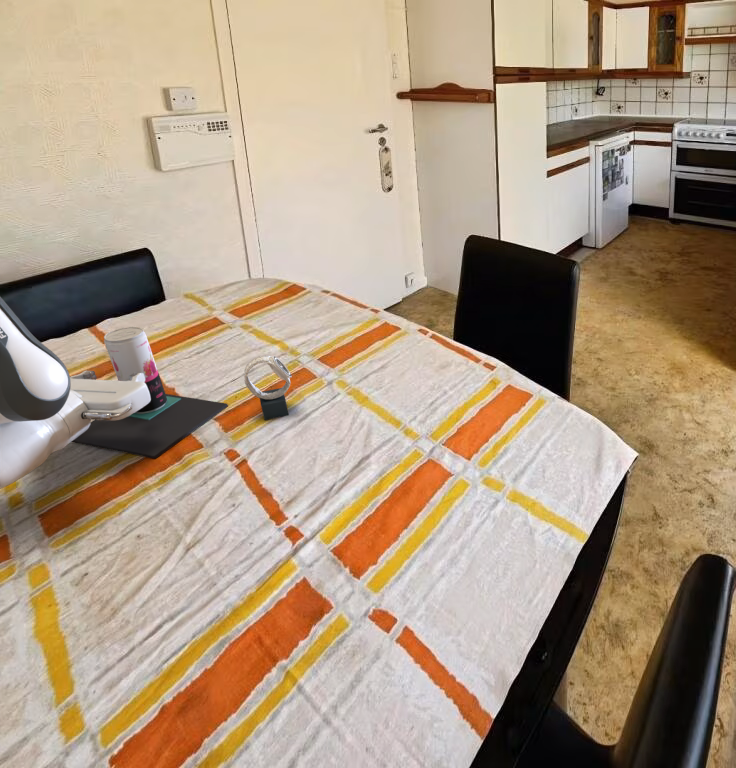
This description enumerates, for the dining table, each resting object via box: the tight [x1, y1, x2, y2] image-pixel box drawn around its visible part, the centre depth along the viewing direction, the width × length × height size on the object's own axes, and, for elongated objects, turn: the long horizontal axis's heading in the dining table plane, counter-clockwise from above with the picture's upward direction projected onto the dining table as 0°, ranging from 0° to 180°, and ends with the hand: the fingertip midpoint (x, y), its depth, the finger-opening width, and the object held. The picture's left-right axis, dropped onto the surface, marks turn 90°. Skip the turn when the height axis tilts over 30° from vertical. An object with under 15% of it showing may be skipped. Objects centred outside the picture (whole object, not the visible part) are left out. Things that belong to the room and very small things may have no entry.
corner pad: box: [128, 396, 181, 420], centre depth 118 cm, size 8×8×1 cm
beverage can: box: [103, 326, 167, 414], centre depth 115 cm, size 7×7×15 cm
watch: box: [243, 355, 292, 421], centre depth 115 cm, size 6×8×11 cm
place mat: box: [71, 393, 229, 460], centre depth 114 cm, size 20×18×1 cm
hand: (116, 375), depth 110 cm, fingers open, 8 cm apart
